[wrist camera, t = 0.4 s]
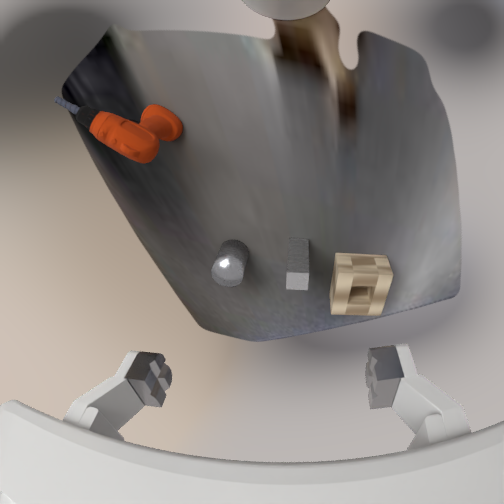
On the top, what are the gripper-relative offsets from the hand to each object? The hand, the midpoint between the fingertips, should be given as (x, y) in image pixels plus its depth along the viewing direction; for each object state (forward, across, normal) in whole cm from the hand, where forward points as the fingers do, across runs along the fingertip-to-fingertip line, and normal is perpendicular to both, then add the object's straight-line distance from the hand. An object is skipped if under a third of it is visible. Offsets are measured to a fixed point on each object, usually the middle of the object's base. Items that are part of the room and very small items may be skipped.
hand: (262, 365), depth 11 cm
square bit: (+42, 0, +16) cm, 45 cm away
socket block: (+42, -11, +23) cm, 49 cm away
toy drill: (+39, +22, -13) cm, 47 cm away
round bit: (+42, +12, +16) cm, 47 cm away
